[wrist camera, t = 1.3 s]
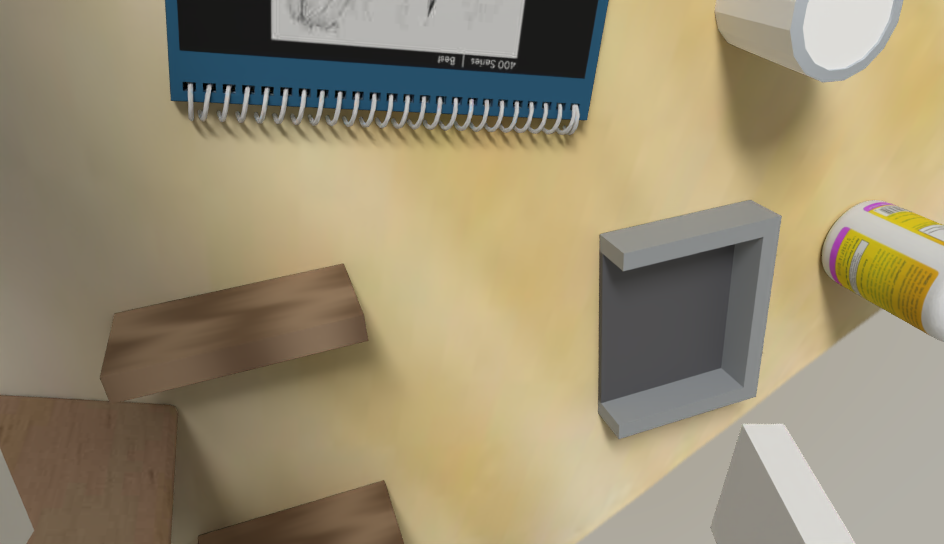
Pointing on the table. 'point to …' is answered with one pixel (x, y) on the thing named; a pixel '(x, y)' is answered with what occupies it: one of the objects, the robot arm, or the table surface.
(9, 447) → the wooden block
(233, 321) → the parallel wooden walls
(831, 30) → the white cup
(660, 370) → the grey shallow rectangular tray
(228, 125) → the table surface
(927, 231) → the supplement bottle
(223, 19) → the sketchbook
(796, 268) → the table surface
